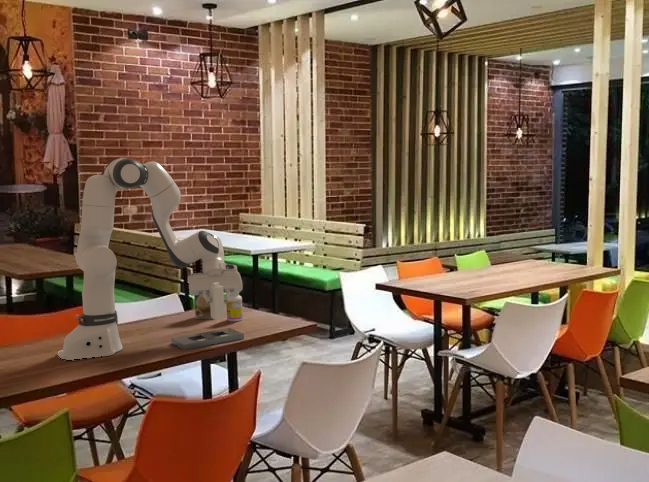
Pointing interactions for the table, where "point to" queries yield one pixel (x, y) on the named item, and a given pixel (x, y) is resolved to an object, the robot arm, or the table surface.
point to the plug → (217, 301)
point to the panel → (207, 338)
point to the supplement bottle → (234, 307)
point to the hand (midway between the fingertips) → (217, 301)
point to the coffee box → (202, 307)
